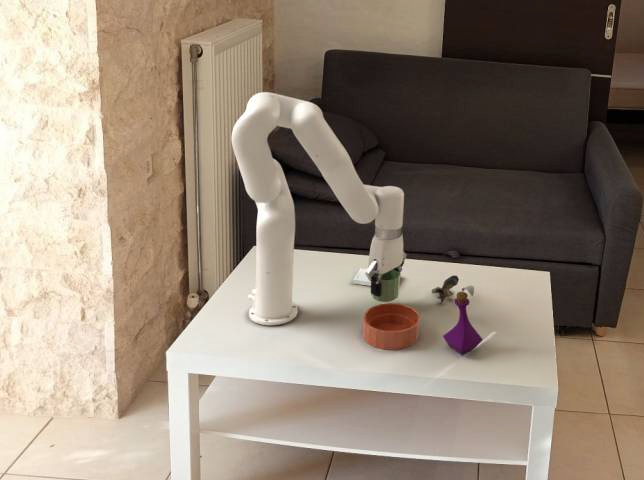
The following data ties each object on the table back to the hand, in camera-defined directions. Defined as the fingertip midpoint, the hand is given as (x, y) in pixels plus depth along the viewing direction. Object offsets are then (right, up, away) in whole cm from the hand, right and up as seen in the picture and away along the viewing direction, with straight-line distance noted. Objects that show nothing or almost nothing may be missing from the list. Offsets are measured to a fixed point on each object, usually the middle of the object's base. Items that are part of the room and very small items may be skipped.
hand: (385, 289), depth 205 cm
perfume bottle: (+22, -12, -16) cm, 30 cm away
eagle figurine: (+16, -6, +10) cm, 20 cm away
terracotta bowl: (+3, -9, -13) cm, 16 cm away
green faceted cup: (0, -2, 0) cm, 2 cm away
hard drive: (-5, -2, +16) cm, 17 cm away
